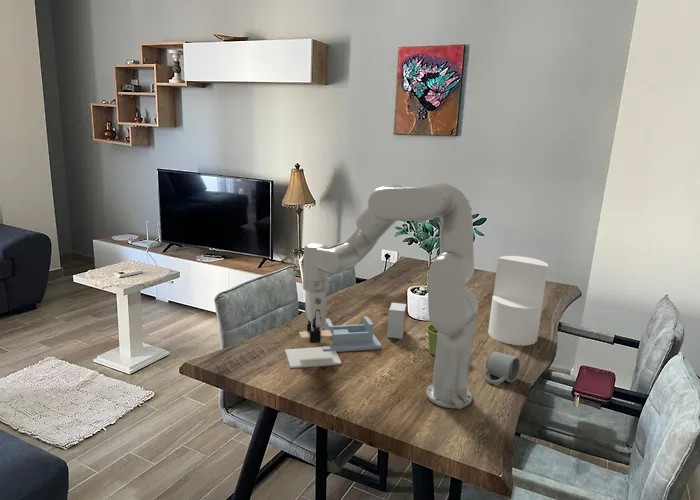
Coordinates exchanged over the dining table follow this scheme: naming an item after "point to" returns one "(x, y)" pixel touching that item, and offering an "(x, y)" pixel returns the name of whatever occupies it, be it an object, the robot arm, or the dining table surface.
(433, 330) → the plant pot
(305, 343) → the oak block
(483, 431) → the dining table surface
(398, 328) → the small box
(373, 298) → the dining table surface
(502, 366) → the ceramic mug
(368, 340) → the jig
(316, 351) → the mat
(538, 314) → the cylinder
